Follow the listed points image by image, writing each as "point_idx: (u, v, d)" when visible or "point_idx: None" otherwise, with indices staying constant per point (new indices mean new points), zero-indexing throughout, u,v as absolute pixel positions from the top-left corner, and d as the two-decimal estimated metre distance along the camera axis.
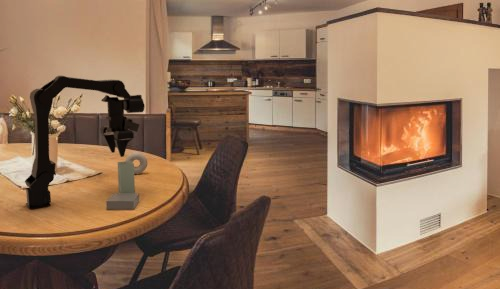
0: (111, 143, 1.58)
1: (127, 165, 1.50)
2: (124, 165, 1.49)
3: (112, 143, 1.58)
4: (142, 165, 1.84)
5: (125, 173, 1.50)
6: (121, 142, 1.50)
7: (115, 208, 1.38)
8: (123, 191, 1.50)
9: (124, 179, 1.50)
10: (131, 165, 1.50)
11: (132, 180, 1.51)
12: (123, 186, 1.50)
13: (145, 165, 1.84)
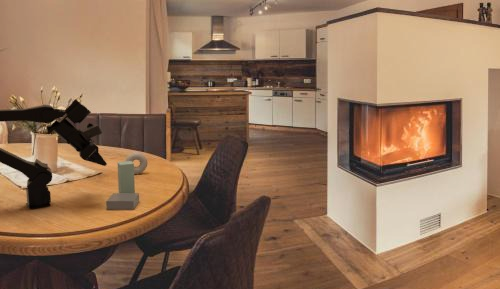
0: None
1: (127, 165, 1.50)
2: (124, 165, 1.49)
3: None
4: (142, 165, 1.84)
5: (125, 173, 1.50)
6: (93, 156, 1.40)
7: (115, 208, 1.38)
8: (123, 191, 1.50)
9: (124, 179, 1.50)
10: (131, 165, 1.50)
11: (132, 180, 1.51)
12: (123, 186, 1.50)
13: (145, 165, 1.84)
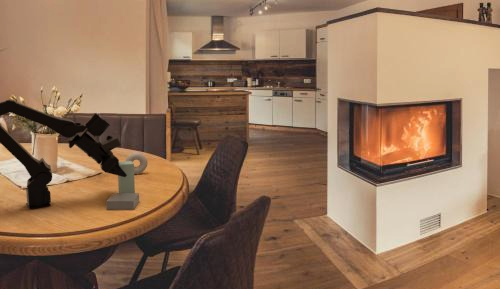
0: None
1: (127, 165, 1.50)
2: (124, 165, 1.49)
3: None
4: (142, 165, 1.84)
5: None
6: (113, 168, 1.44)
7: (115, 208, 1.38)
8: (123, 191, 1.50)
9: (124, 179, 1.50)
10: (131, 165, 1.50)
11: (132, 180, 1.51)
12: (123, 186, 1.50)
13: (145, 165, 1.84)
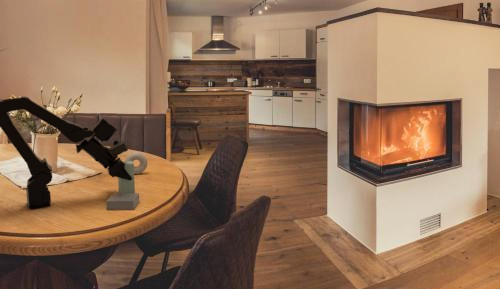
0: None
1: (127, 165, 1.50)
2: None
3: None
4: (142, 165, 1.84)
5: None
6: (119, 172, 1.47)
7: (115, 208, 1.38)
8: (123, 191, 1.50)
9: (124, 179, 1.50)
10: (131, 165, 1.50)
11: (132, 180, 1.51)
12: (123, 186, 1.50)
13: (145, 165, 1.84)
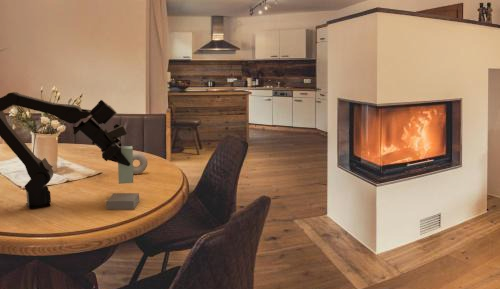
0: None
1: (125, 150, 1.43)
2: (122, 149, 1.43)
3: None
4: (142, 165, 1.84)
5: None
6: (116, 156, 1.41)
7: (115, 208, 1.38)
8: (121, 177, 1.44)
9: (122, 164, 1.44)
10: (129, 150, 1.44)
11: (130, 166, 1.45)
12: (121, 171, 1.44)
13: (145, 165, 1.84)
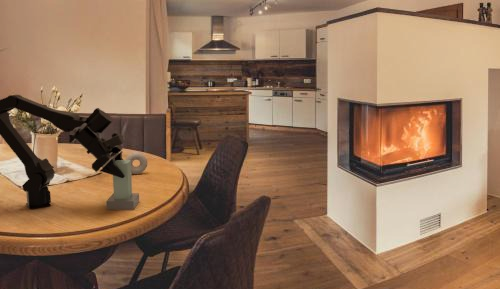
0: None
1: (120, 164, 1.37)
2: (117, 164, 1.37)
3: None
4: (142, 165, 1.84)
5: None
6: (109, 167, 1.35)
7: (115, 208, 1.38)
8: (116, 192, 1.39)
9: (117, 179, 1.38)
10: (124, 165, 1.37)
11: (126, 181, 1.38)
12: (116, 187, 1.39)
13: (145, 165, 1.84)
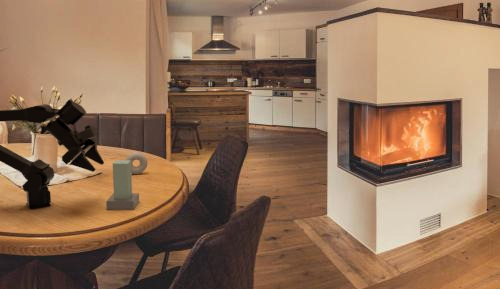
0: (95, 156, 1.44)
1: (120, 164, 1.37)
2: (117, 164, 1.37)
3: (96, 156, 1.44)
4: (142, 165, 1.84)
5: (118, 173, 1.38)
6: (79, 161, 1.33)
7: (115, 208, 1.38)
8: (116, 193, 1.39)
9: (117, 179, 1.38)
10: (125, 165, 1.37)
11: (126, 181, 1.38)
12: (116, 187, 1.39)
13: (145, 165, 1.84)
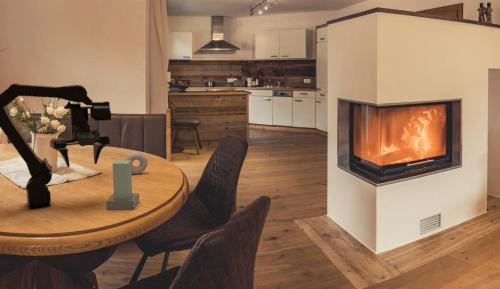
0: (95, 153, 1.46)
1: (120, 164, 1.37)
2: (117, 164, 1.37)
3: (95, 154, 1.46)
4: (142, 165, 1.84)
5: (118, 173, 1.38)
6: None
7: (115, 208, 1.38)
8: (116, 193, 1.39)
9: (117, 179, 1.38)
10: (125, 165, 1.37)
11: (126, 181, 1.38)
12: (116, 187, 1.39)
13: (145, 165, 1.84)
